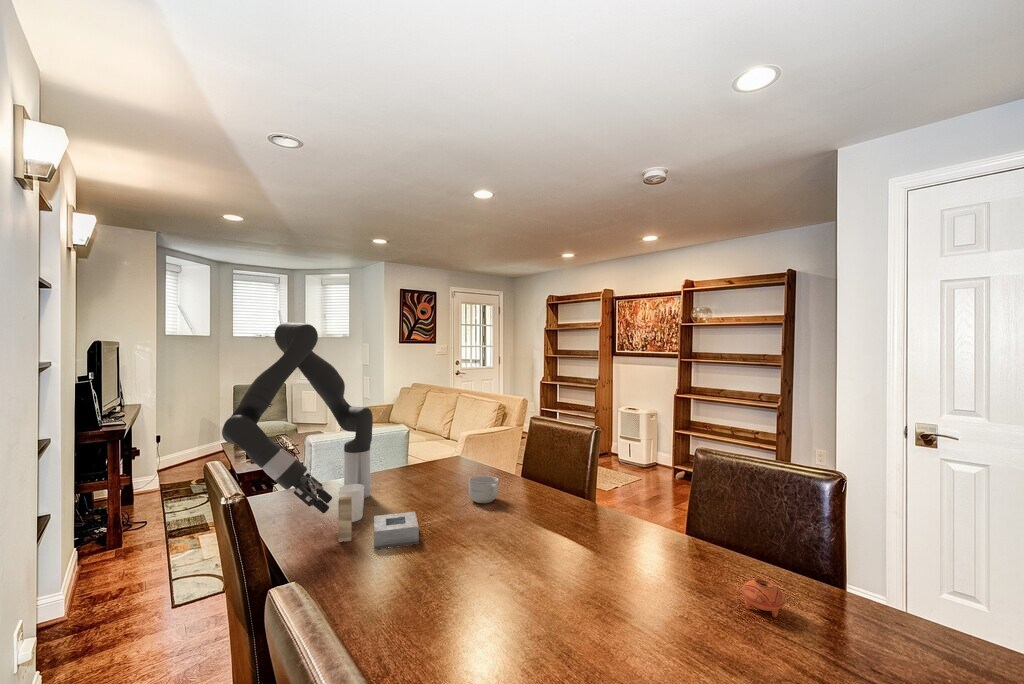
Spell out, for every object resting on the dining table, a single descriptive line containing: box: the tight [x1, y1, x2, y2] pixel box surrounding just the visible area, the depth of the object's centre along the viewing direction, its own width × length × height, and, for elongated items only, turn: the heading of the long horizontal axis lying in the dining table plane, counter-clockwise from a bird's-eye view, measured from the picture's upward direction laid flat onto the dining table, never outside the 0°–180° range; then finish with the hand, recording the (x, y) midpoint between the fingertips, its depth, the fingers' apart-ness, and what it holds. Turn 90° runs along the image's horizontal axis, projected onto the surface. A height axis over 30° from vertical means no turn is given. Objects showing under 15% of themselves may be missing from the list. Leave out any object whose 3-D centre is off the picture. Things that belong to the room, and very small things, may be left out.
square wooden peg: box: [337, 495, 353, 543], centre depth 131 cm, size 3×3×12 cm
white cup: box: [338, 484, 365, 523], centre depth 147 cm, size 8×8×10 cm
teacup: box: [468, 475, 499, 504], centre depth 162 cm, size 14×11×8 cm
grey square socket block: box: [373, 511, 420, 550], centre depth 131 cm, size 12×12×5 cm
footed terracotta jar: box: [741, 577, 786, 618], centre depth 95 cm, size 8×8×7 cm
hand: (328, 505), depth 130 cm, fingers open, 8 cm apart
